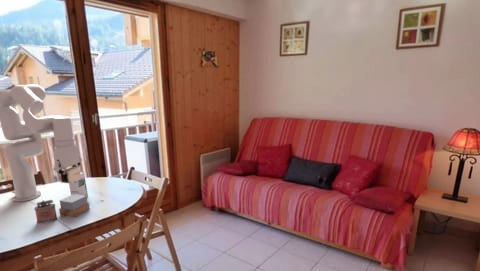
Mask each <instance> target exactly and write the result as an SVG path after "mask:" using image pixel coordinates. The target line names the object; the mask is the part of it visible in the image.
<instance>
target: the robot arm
mask: <svg viewBox="0 0 480 271" xmlns="http://www.w3.org/2000/svg"><path fill="white" fill-rule="evenodd" d="M45 98H46V91H45V89H44V88H43V87H42V86H41V85H39V84H20V85H15V86H12V88H10V89H0V125H1V131H2V134H3V136H4V138H5V140H8V141H17V142H13V143H9V144H8V145H6V146H5V148H4V155H5V157H6V160H7V163H8V165H9V169H10V173H11V179H12V183H13V184H12V185H13V188H14V190H12V191H11V193H12V194H14V196H13V197H12V200H13V202H27V201H31V200H34V199H36V198H39V197H41V194H42V193H41V191H40V190H37V184H36V180H35V178H36V177H35V174H34V168H33V165H32V164H31V163H30V162H29V161H28V160H27V159H29V158H33V157H37V156H40V155H42V154H43V153H44V151H45V148H44V143H43V138H42V134H48V133H53V138H54V143H55V147H54V148H53V150H54V151H53V159H54V167H53V168H52V170H53V171H54V172H56V173H58V175H59V174H61V180H62V182H68V177H67V174H66V168H67V167H79V168H80V167H81V164H82V162H83V159H82V158H81V157H80V155H79V151H78V149H77V145H76V144H75V141H76V140H75V138H74V134H73V127H72V126H73V125H72V121H71V118H70V117H69V116H62V115H58V114H56V115H50V116H49V115H47V116H41V117H36V116H37V115H38V114H39V113H41V112H42V111H43V110H44V108H45V104H44V102H43V101H44V100H45ZM15 106H19V107H20V108H22V109H23V112H22V120H23V121H22V120H21V117H20V113H19V112H18V111H17V110H16V109H15V108H14V107H15ZM23 139H27V140H23ZM18 140H22V141H18ZM62 169H63V171H62ZM61 180H60V181H61Z"/></svg>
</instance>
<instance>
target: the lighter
mask: <svg viewBox="0 0 480 271" xmlns="http://www.w3.org/2000/svg"><path fill="white" fill-rule="evenodd" d="M34 211H35V216H36V223H37V224H39V225H40V224H45V223H46V224H47V223H51V222H55V221H57V220H58V216H57V209H56V204H55V203H54V200H52V199H48V200H42V201H39V202H37V203H36V206H35V207H34Z"/></svg>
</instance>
